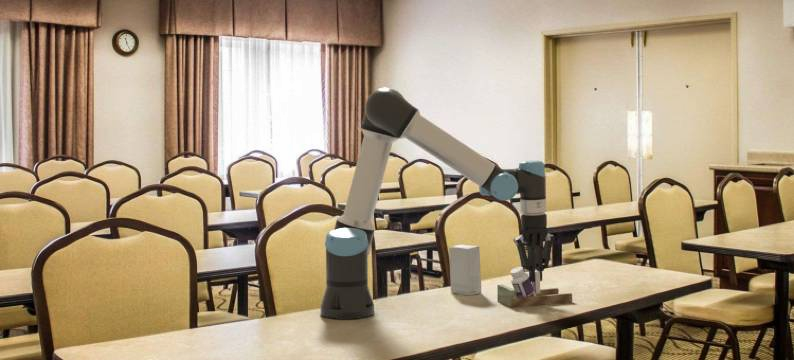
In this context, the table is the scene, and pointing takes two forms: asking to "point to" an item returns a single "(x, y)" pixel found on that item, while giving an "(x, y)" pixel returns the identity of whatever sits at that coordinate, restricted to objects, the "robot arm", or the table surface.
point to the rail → (542, 298)
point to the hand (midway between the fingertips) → (536, 292)
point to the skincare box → (465, 269)
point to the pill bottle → (522, 283)
